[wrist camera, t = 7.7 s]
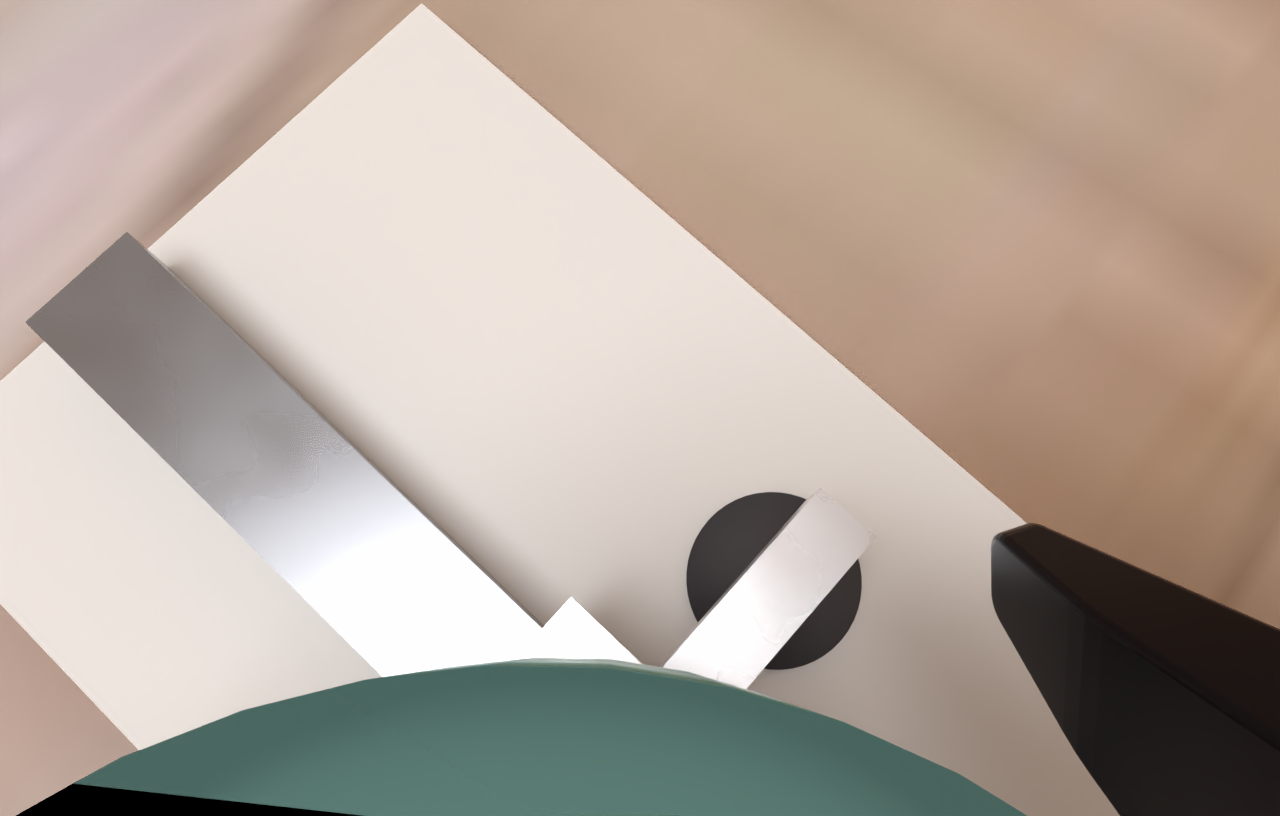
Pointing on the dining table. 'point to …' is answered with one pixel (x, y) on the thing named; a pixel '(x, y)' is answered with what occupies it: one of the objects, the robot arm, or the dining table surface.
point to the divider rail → (279, 470)
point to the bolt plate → (514, 437)
